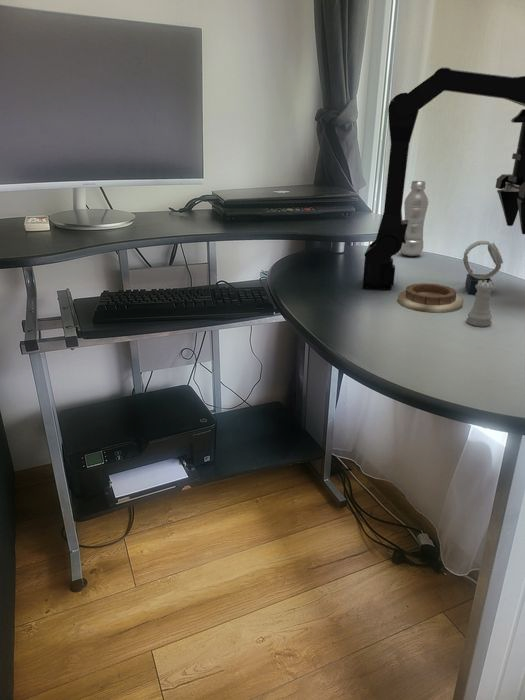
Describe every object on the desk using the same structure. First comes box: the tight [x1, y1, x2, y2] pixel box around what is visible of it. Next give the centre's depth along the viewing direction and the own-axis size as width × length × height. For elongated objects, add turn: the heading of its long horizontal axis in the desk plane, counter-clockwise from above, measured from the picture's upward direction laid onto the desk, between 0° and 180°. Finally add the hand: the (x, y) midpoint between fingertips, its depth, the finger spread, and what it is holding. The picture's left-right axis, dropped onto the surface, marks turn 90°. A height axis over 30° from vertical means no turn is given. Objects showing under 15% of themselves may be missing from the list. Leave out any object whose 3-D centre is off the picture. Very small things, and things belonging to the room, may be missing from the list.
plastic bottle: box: [399, 180, 429, 257], centre depth 141 cm, size 6×7×20 cm
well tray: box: [397, 282, 464, 314], centre depth 107 cm, size 13×13×3 cm
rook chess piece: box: [466, 280, 495, 328], centre depth 94 cm, size 4×4×8 cm
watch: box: [462, 240, 504, 296], centre depth 112 cm, size 6×8×11 cm
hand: (517, 229), depth 105 cm, fingers open, 9 cm apart
